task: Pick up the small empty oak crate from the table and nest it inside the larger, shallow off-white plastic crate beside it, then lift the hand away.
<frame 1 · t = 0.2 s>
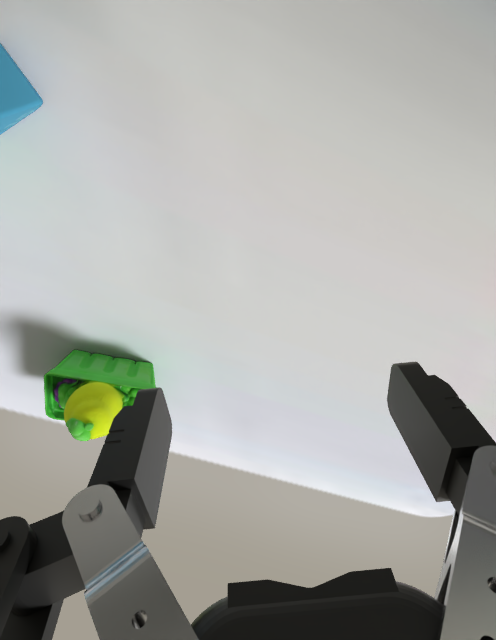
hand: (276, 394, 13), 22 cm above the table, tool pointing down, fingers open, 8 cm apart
fruit basket: (113, 366, 42), on the table
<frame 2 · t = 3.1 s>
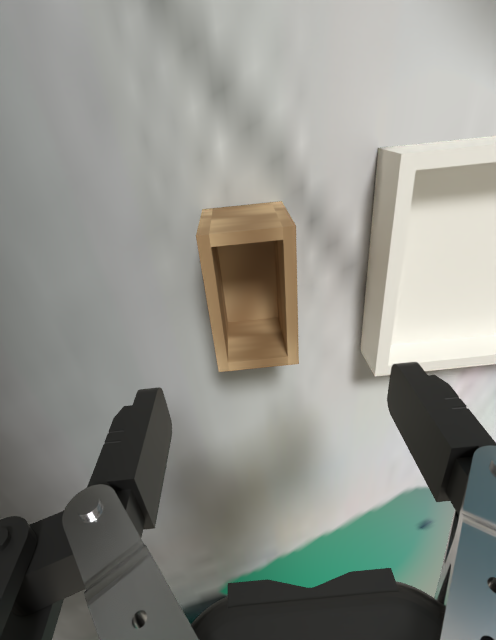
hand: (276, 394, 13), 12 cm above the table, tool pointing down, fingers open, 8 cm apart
small crate: (248, 269, 23), on the table
large crate: (465, 254, 23), on the table
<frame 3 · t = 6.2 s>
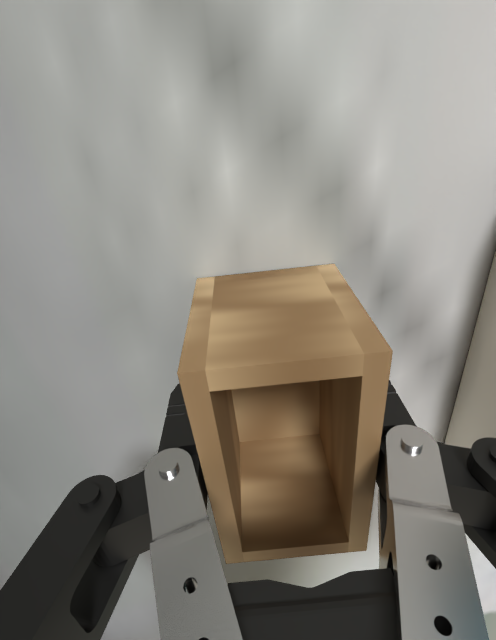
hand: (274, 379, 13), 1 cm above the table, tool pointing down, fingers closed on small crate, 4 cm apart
small crate: (272, 365, 14), on the table, touching gripper
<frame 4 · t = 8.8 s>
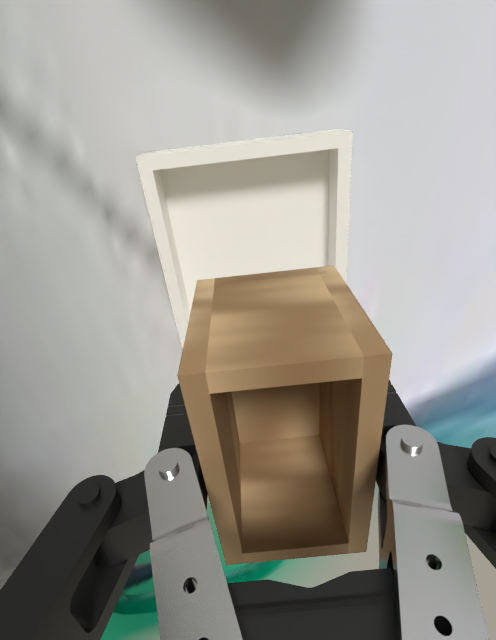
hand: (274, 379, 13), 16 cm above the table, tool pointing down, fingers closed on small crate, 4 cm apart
small crate: (273, 367, 14), point 15 cm above the table, touching gripper
large crate: (252, 241, 27), on the table
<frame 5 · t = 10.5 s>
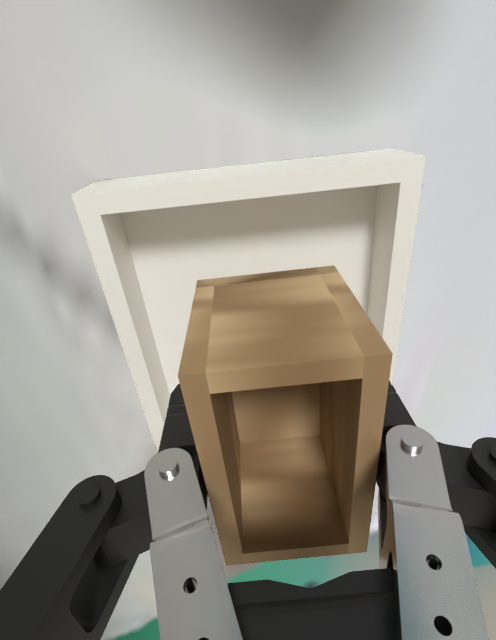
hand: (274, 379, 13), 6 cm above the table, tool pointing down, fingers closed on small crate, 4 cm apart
small crate: (273, 367, 14), point 5 cm above the table, touching gripper
large crate: (257, 304, 19), on the table
when the fingers open (3 cm above the table, at t = 11.9 s): small crate drops 2 cm, resting on large crate.
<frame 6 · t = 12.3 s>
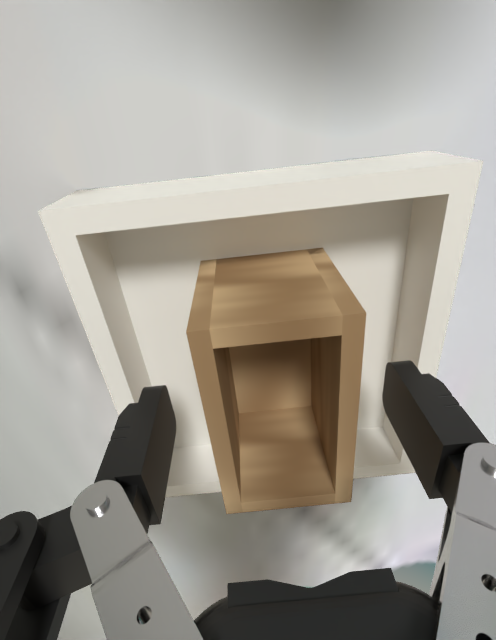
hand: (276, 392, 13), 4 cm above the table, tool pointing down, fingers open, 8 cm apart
small crate: (268, 342, 15), point 1 cm above the table, touching large crate
large crate: (266, 331, 16), on the table
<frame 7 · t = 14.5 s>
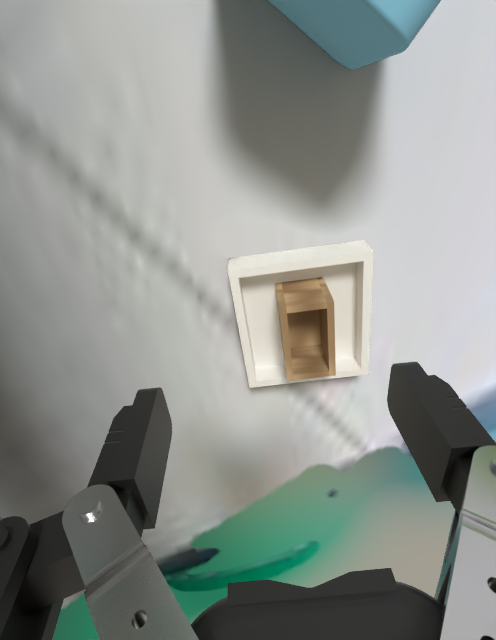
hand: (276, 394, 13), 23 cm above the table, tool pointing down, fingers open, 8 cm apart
small crate: (301, 315, 36), point 1 cm above the table, touching large crate
large crate: (300, 311, 37), on the table
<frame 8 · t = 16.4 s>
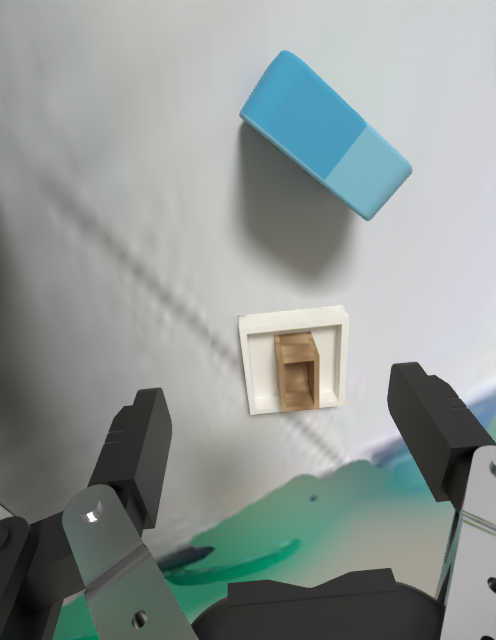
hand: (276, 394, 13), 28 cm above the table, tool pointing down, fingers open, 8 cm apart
blue rounded block: (303, 135, 34), on the table
small crate: (293, 359, 46), point 1 cm above the table, touching large crate
large crate: (292, 355, 47), on the table
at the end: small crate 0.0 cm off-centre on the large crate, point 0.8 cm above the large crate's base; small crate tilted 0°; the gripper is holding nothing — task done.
